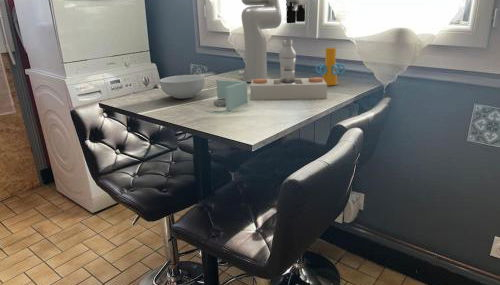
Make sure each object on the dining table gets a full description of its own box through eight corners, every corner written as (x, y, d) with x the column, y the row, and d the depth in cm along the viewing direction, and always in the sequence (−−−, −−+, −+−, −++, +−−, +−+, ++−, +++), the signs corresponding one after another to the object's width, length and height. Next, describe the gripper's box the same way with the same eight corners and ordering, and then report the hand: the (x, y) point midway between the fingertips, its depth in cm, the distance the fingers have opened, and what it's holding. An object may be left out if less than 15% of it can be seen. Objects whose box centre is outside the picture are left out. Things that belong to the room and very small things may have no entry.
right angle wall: (219, 100, 140) (217, 79, 138) (247, 103, 135) (246, 81, 132) (198, 107, 130) (197, 85, 128) (228, 110, 125) (227, 87, 122)
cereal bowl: (188, 90, 160) (187, 73, 158) (214, 95, 149) (213, 76, 147) (152, 97, 149) (150, 79, 147) (177, 103, 138) (175, 83, 136)
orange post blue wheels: (345, 82, 165) (347, 46, 161) (343, 87, 156) (344, 49, 151) (317, 82, 169) (318, 46, 165) (312, 86, 160) (313, 49, 155)
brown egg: (309, 94, 142) (309, 79, 140) (307, 92, 147) (308, 77, 145) (323, 94, 141) (323, 79, 140) (321, 91, 146) (322, 77, 145)
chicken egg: (253, 95, 143) (252, 81, 141) (253, 93, 148) (253, 78, 146) (267, 95, 143) (266, 80, 141) (267, 92, 148) (267, 78, 146)
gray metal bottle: (296, 93, 148) (296, 39, 142) (296, 96, 141) (296, 40, 135) (279, 93, 149) (278, 39, 142) (278, 96, 142) (278, 40, 136)
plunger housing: (250, 99, 139) (250, 85, 137) (252, 92, 152) (252, 79, 151) (326, 98, 137) (327, 84, 136) (321, 90, 151) (322, 77, 149)
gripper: (298, -34, 122) (297, 23, 128) (315, -30, 137) (313, 21, 142) (276, -32, 125) (276, 23, 131) (294, -29, 140) (294, 21, 145)
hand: (295, 22), depth 137 cm, fingers open, 9 cm apart
